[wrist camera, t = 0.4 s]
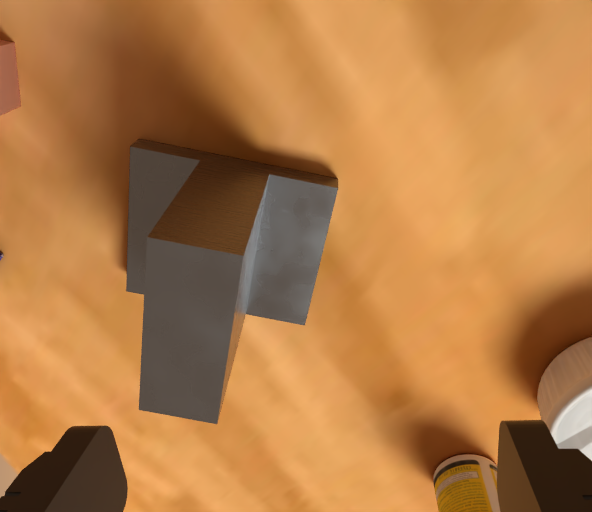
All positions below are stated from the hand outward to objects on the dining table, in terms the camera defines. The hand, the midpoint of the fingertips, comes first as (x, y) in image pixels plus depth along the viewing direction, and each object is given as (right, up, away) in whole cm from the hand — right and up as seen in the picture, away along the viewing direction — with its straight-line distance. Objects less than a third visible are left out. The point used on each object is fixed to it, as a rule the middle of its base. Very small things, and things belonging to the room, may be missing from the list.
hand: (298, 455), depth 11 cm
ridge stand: (-4, +6, +23) cm, 24 cm away
